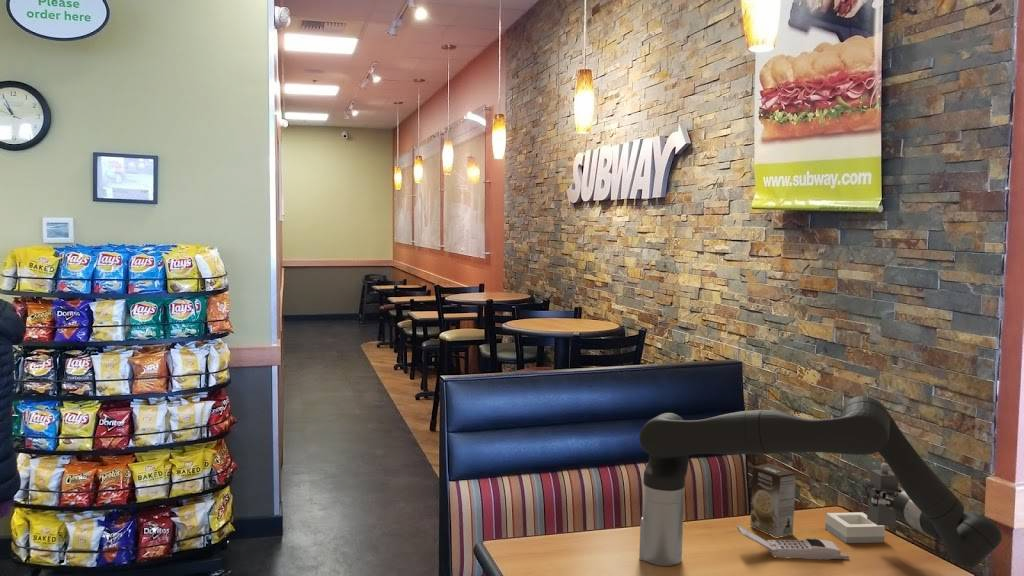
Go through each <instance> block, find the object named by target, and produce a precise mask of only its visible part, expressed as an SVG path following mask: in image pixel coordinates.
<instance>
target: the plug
mask: <svg viewBox="0 0 1024 576" xmlns="http://www.w3.org/2000/svg"><path fill="white" fill-rule="evenodd" d="M889 468H890V466H889V465H888V463H881V465H880V469H870V470H869V484H871V485H873V486H875V487H877V488H879V489H887V490H890V491H893V492H894V491H896V492H898V487H899V485H900V483H899V481H898V480H897V478H896V476H895V475H894V473H893V471H892V470H889ZM878 494H879V495H880V493H879V492H878ZM886 494H887V493H886ZM866 515H867V519H868V520H870V521H871V522H873V523H875V524H876V525H878V526H881V525H884V526H896V525H897V516H896V514H895V512H894V510H893V509H891V508H890V507H887V506H885V505H883V504H879V505H878V507H874V506H872V504H871V503H870V502H869V501H868V500H867V512H866Z"/></svg>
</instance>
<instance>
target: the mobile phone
mask: <svg viewBox="0 0 1024 576" xmlns="http://www.w3.org/2000/svg"><path fill="white" fill-rule="evenodd" d="M736 529H737V531H738V532H739V533H740V534H741V535H742V536H744V537H745V538H748V539H749V540H751V541H754V542H755V543H757V544H759V545H760V546H763V547H765V548H766V549H767V550H768V549H769V550H770V551H769V550H768V551H769V553H770V552H771V553H772V554H771V553H770V554H771V556H772V557H773V556H776V557H790V558H789V559H792V558H804V559H803V560H823V559H824V560H826V561H827V560H828V561H829V560H834V559H835V560H843V559H844V560H845V559H846V560H847V559H850V555H849V554H841V550H840V548H839V547H838V546H837V545H836V544H835V543H834V542H833V541H831V540H826V539H820V538H819V539H818V538H805V539H768V540H765V539H764V538H763V537H761V536H759V535H757V534H756V533H753V532H752V531H750V530H748V529H747V528H745V527H743V526H742V525H740V524H737V525H736ZM805 558H806V559H805Z"/></svg>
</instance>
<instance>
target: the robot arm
mask: <svg viewBox="0 0 1024 576" xmlns="http://www.w3.org/2000/svg"><path fill="white" fill-rule="evenodd" d="M638 440H639V444H640V446H641V448H642V449H643V451H644V452H645V453H646V454H647V455H649V458H648V462H647V465H646V467H645V469H644V471H643V486H642V487H643V488H642V491H643V492H642V510H641V511H642V512H641V513H642V515H641V517H640V523H639V524H640V526H639V527H640V528H639V553H638V557H639V558H638V560H640V561H643V562H646V563H649V564H652V565H655V566H663V567H670V566H676V565H679V564H680V563H681V562H682V560H683V540H684V539H683V538H684V537H683V535H684V533H683V530H684V507H685V482H686V478H687V477H686V476H687V474H688V470H689V469H688V467H689V456H692V455H700V454H702V455H705V454H706V455H707V454H709V455H710V454H711V455H712V454H713V455H771V454H787V453H788V454H792V453H793V454H797V453H798V454H799V453H801V454H802V453H822V454H823V453H824V454H825V453H826V454H827V453H828V454H840V455H842V454H843V455H856V456H857V455H858V456H865V455H873V454H877V453H878V454H880V456H881V457H882V458H883V459H884V461H885V463H886V464H888V465H889V468H890V469H891V470H890V471H891V472H893V473H894V475H895V476H896V478H897V480H898V481H899V486H898V492H896V491H894V492H893V491H890V490H887V489H879V488H877V487H875V486H873V485H871V484H869V483H867V482H866V483H865V485H864V492H865V493H866V500H867V502H868V501H869V502H870V503H871V504H872V506H874V507H878V505H879V504H883V505H885V506H887V507H890V508H891V509H893V510H894V512H895V514H896V518H898V519H899V520H900V521H902V522H904V523H905V524H907V525H908V526H911V527H912V528H914V529H916V530H918V531H919V532H921V533H924V534H927V535H928V536H929V537H932V538H934V539H935V540H936V541H938V542H940V543H942V545H943V547H944V548H945V551H946V553H947V554H948V555H949V557H951V559H952V560H953V561H954V562H955V563H957V564H958V565H960V566H963V567H965V568H970V569H971V568H976V567H977V566H979V564H981V563H982V562H983V561H984V559H986V558H987V557H988V556H989V555H990V554H991V553H992V552H993V551H994V550H995V549H996V548H997V547H998V546H999V545H1000V544H1001V542H1002V540H1003V535H1002V532H1001V529H1000V528H999V526H998V525H997V524H996V523H995V522H994V521H992V520H991V519H989V518H987V517H986V516H983V515H982V514H978V513H974V512H969V511H968V512H967V511H965V506H964V504H963V502H962V501H961V500H960V499H959V498H958V497H957V496H956V494H955V493H953V491H952V490H951V489H950V488H949V487H948V486H947V485H946V484H945V482H944V481H943V480H942V479H941V478H940V477H939V476H938V475H937V474H936V473H935V472H934V471H933V470H932V468H930V467H929V465H928V464H927V463H926V461H924V459H923V458H922V457H921V456H920V455H919V453H918V452H917V450H916V449H915V448H914V447H913V445H912V444H911V443H910V442H909V440H908V439H907V437H906V436H905V435H904V434H903V432H902V431H901V429H900V427H899V426H898V425H897V422H895V419H894V418H893V417H892V416H891V414H890V412H889V411H888V410H887V408H886V406H885V405H883V404H882V402H880V401H879V400H878V399H876V398H874V397H871V396H866V395H858V396H853V397H852V398H850V399H848V400H847V401H846V402H845V404H844V405H843V407H842V409H841V412H840V416H839V417H835V418H833V417H832V418H823V419H822V418H821V419H820V418H819V419H812V418H811V419H810V418H804V417H800V416H796V415H793V414H790V413H788V412H783V411H780V410H775V409H756V410H755V409H753V410H743V411H735V412H730V413H725V414H720V415H717V416H712V417H708V418H704V419H697V420H696V419H694V420H685V419H684V418H682V417H681V416H680V415H678V414H676V413H674V412H664V413H661V414H659V415H657V416H655V417H653V418H651V419H649V420H648V421H647V422H646V423H645V424H644V425H643V427H642V428H641V430H640V433H639V439H638ZM900 486H901V487H900ZM878 492H879V493H880V495H879V494H878ZM886 493H887V494H886Z"/></svg>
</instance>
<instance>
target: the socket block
mask: <svg viewBox="0 0 1024 576" xmlns="http://www.w3.org/2000/svg"><path fill="white" fill-rule="evenodd" d="M824 528H825V530H827V531H828V532H830V533H831V534H832V535H834V536H835V537H837V538H838V539H839V540H841V541H842V542H844V543H846V544H860V543H862V544H863V543H865V544H867V543H869V544H870V543H885V535H886V533H885V532H886V525H881V526H878V525H876V524H875V523H873V522H871V521H870V520H868V519H867V513H864V512H862V511H859V512H858V511H857V512H825V526H824Z"/></svg>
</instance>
